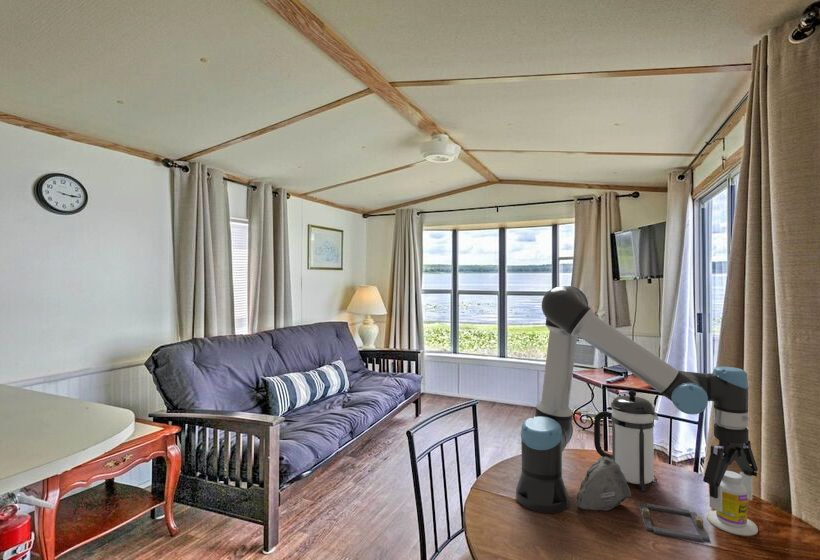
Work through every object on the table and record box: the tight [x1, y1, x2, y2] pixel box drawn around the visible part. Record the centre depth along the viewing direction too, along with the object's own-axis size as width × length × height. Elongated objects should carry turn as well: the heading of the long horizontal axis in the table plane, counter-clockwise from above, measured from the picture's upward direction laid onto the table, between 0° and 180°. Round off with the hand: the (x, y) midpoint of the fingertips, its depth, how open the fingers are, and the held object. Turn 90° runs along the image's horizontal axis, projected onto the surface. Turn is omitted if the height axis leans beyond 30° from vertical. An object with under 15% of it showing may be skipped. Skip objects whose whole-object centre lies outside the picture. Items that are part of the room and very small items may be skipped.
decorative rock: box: [576, 456, 632, 512], centre depth 122 cm, size 16×7×15 cm, turn 93°
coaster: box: [706, 509, 759, 537], centre depth 114 cm, size 11×11×1 cm
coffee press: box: [593, 389, 660, 493], centre depth 139 cm, size 17×16×30 cm
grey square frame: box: [638, 502, 711, 543], centre depth 115 cm, size 14×14×2 cm
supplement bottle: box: [715, 470, 748, 527], centre depth 114 cm, size 7×7×13 cm
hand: (731, 503), depth 114 cm, fingers open, 13 cm apart
